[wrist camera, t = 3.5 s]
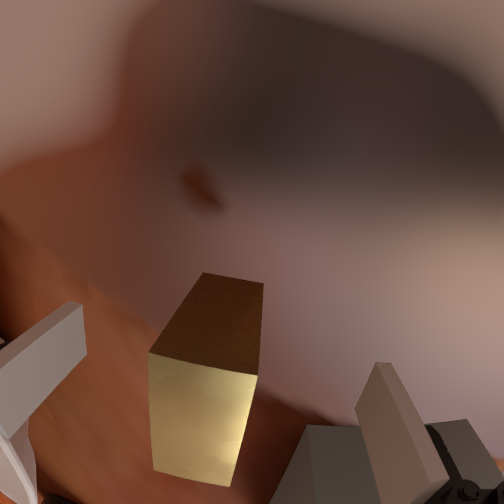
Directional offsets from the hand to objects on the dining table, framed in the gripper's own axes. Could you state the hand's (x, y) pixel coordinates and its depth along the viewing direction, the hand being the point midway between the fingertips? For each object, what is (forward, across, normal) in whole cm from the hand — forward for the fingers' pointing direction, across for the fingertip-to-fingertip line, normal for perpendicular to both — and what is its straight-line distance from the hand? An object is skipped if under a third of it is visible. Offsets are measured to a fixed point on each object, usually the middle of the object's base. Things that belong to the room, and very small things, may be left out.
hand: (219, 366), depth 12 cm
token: (+4, 0, 0) cm, 4 cm away
